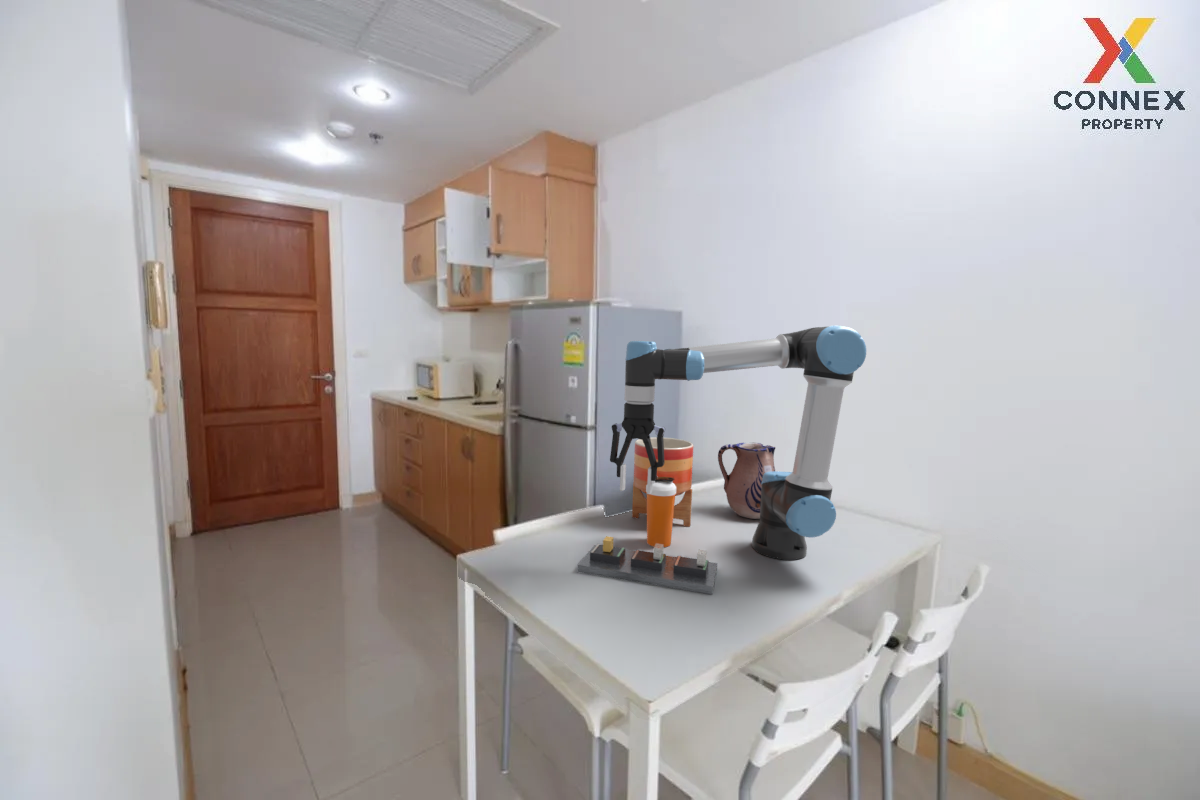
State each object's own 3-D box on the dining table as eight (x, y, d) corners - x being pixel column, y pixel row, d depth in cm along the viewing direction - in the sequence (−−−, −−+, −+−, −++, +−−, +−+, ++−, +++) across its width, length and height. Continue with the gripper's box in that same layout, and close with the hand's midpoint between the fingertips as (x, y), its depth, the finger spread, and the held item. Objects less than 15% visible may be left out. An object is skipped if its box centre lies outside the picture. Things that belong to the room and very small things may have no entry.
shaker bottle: (673, 550, 148) (676, 482, 146) (642, 547, 150) (644, 480, 148) (674, 539, 157) (677, 474, 155) (645, 536, 159) (648, 472, 156)
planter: (622, 526, 167) (625, 444, 164) (641, 508, 185) (644, 435, 182) (682, 536, 159) (687, 451, 156) (696, 517, 178) (700, 440, 175)
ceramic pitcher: (784, 524, 173) (789, 451, 170) (721, 522, 173) (725, 449, 170) (768, 508, 190) (772, 441, 187) (711, 506, 190) (714, 439, 188)
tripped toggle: (613, 548, 138) (613, 537, 138) (610, 552, 135) (610, 541, 135) (606, 547, 139) (606, 536, 138) (602, 551, 136) (603, 540, 135)
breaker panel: (717, 570, 136) (718, 544, 135) (712, 594, 122) (713, 565, 122) (594, 551, 146) (594, 527, 145) (577, 572, 132) (578, 545, 132)
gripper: (679, 403, 131) (675, 491, 134) (606, 398, 137) (604, 483, 139) (675, 406, 124) (670, 499, 127) (598, 401, 130) (595, 490, 132)
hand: (635, 491), depth 133 cm, fingers open, 6 cm apart
